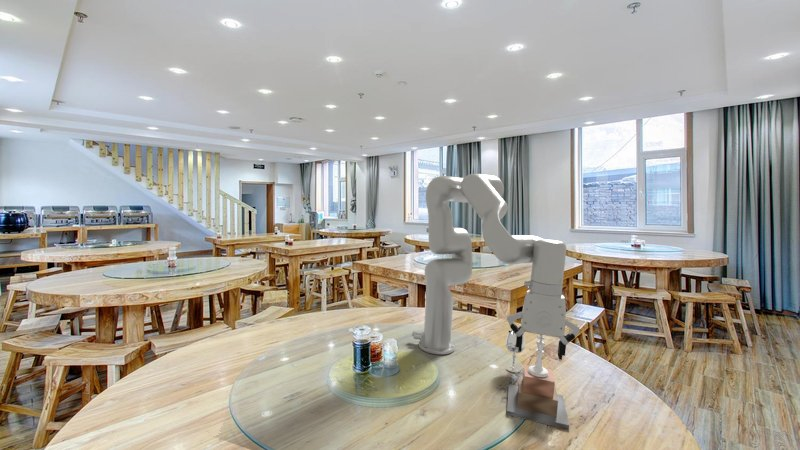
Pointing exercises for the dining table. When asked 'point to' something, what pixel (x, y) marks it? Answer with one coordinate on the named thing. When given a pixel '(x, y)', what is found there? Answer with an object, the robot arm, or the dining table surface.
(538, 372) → the chess piece
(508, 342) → the wineglass
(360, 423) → the dining table surface
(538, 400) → the stepped pedestal
